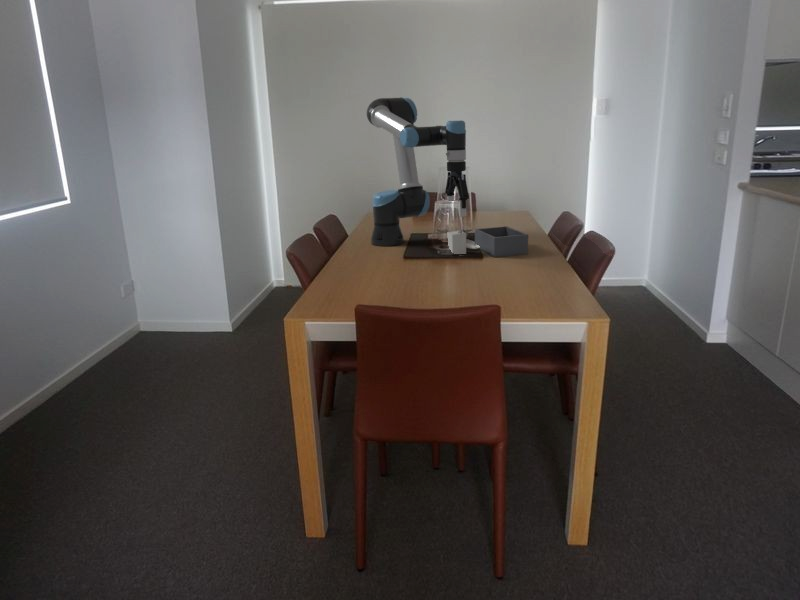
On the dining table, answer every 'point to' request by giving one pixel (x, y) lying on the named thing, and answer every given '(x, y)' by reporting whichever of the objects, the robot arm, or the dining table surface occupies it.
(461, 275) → the dining table surface
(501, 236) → the bin
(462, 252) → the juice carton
